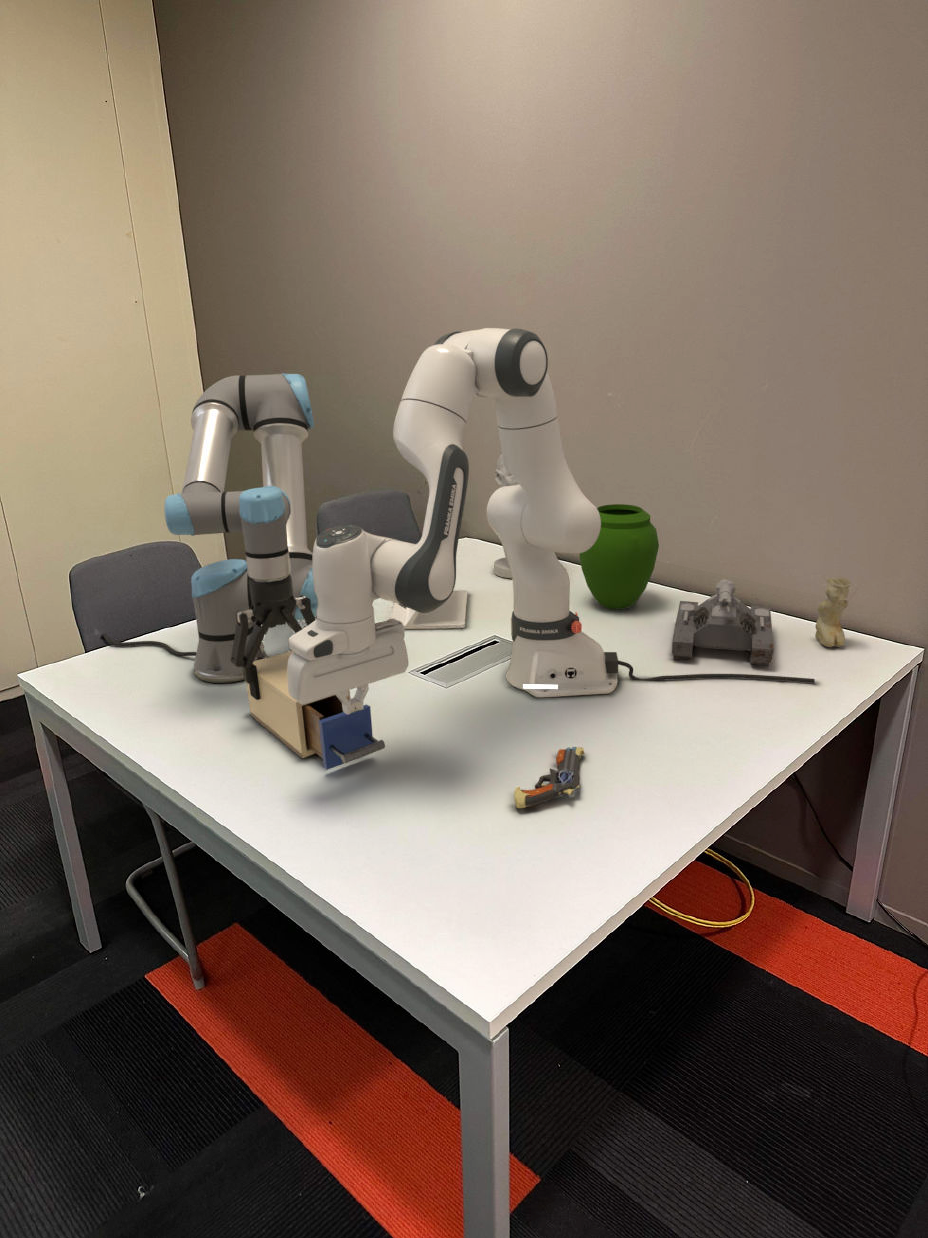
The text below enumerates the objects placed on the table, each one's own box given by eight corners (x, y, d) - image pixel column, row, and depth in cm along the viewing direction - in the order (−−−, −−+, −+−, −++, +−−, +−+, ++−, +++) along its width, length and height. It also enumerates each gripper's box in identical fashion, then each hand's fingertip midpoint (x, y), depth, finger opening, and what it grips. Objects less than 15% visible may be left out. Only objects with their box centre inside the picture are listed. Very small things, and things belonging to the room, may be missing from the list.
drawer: (390, 764, 141) (387, 717, 138) (342, 783, 136) (338, 735, 133) (318, 712, 161) (313, 670, 158) (273, 727, 156) (268, 683, 153)
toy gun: (511, 797, 129) (577, 795, 127) (525, 744, 147) (584, 741, 144) (513, 813, 129) (579, 812, 127) (527, 758, 147) (585, 756, 145)
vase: (599, 587, 227) (601, 497, 218) (668, 600, 216) (673, 505, 208) (562, 608, 212) (564, 513, 204) (634, 623, 202) (639, 523, 193)
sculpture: (821, 649, 184) (830, 583, 179) (808, 637, 191) (816, 573, 185) (848, 649, 184) (858, 582, 179) (834, 636, 191) (843, 572, 185)
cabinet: (354, 739, 152) (349, 685, 148) (302, 758, 146) (295, 702, 143) (299, 700, 168) (293, 650, 165) (250, 715, 163) (243, 664, 159)
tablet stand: (467, 593, 225) (465, 531, 219) (465, 628, 202) (462, 559, 196) (399, 594, 226) (395, 532, 220) (388, 629, 203) (384, 560, 197)
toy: (678, 620, 203) (682, 559, 197) (767, 627, 197) (774, 565, 192) (670, 662, 180) (675, 595, 175) (771, 671, 174) (778, 602, 169)
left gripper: (317, 559, 161) (327, 666, 169) (200, 584, 149) (216, 699, 156) (336, 567, 156) (346, 678, 163) (216, 595, 143) (233, 713, 151)
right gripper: (392, 610, 141) (397, 686, 146) (278, 641, 129) (287, 722, 134) (413, 621, 136) (417, 699, 141) (297, 653, 125) (306, 737, 129)
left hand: (283, 688), depth 160 cm, fingers closed on cabinet, 10 cm apart
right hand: (353, 711), depth 137 cm, fingers closed
